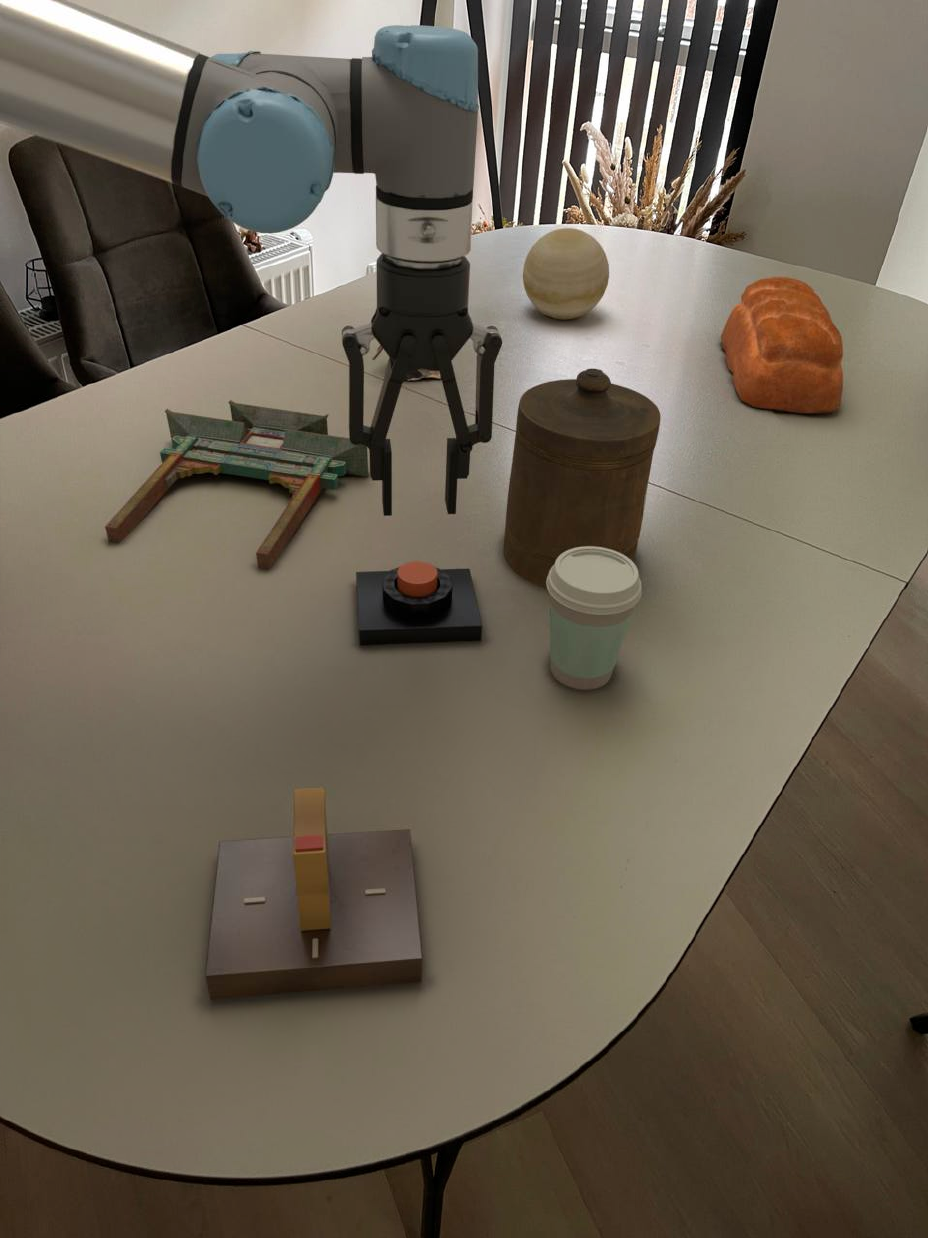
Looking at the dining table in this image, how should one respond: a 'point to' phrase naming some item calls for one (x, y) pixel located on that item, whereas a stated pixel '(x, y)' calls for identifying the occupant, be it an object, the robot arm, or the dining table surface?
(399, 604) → the button block
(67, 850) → the dining table surface
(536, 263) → the decorative ball
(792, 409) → the bread
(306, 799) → the lock knob
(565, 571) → the coffee cup
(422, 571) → the bell button
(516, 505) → the wooden container
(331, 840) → the plate
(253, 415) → the miniature gate
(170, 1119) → the dining table surface
